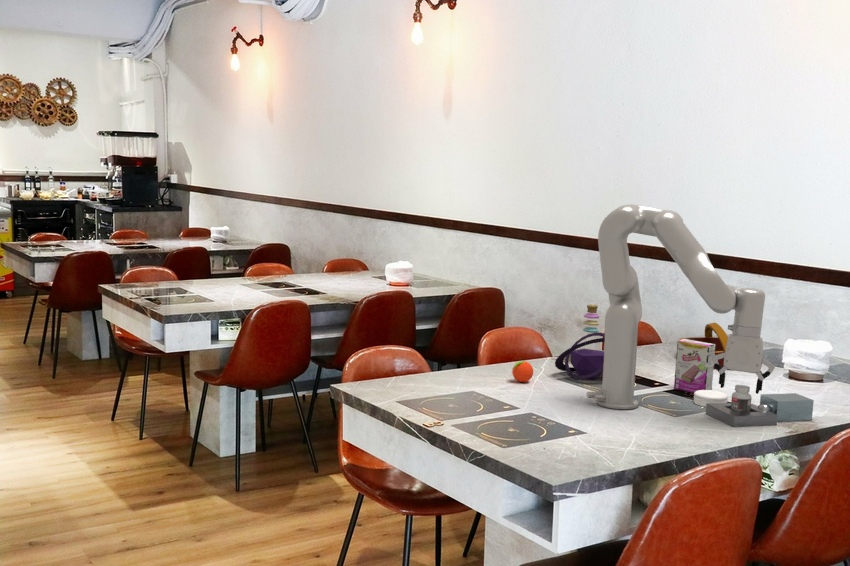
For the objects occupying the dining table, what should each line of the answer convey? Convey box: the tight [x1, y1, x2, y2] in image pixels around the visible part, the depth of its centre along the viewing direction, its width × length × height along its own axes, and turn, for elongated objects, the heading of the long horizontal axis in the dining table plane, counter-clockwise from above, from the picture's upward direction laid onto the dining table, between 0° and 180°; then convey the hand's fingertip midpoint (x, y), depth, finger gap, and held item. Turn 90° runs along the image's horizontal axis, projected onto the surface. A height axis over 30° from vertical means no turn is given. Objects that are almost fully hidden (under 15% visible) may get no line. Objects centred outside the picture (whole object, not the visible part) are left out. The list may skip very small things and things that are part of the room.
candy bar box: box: [673, 339, 715, 394], centre depth 287 cm, size 11×5×16 cm, turn 47°
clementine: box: [511, 360, 534, 383], centre depth 293 cm, size 8×7×7 cm
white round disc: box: [693, 389, 729, 408], centre depth 273 cm, size 10×10×4 cm
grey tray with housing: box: [705, 392, 815, 428], centre depth 258 cm, size 28×14×6 cm, turn 105°
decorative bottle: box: [554, 303, 605, 380], centre depth 302 cm, size 22×21×25 cm
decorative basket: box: [678, 322, 729, 370], centre depth 338 cm, size 34×29×15 cm
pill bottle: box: [730, 384, 753, 413], centre depth 256 cm, size 5×5×10 cm
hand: (739, 389), depth 256 cm, fingers open, 9 cm apart
